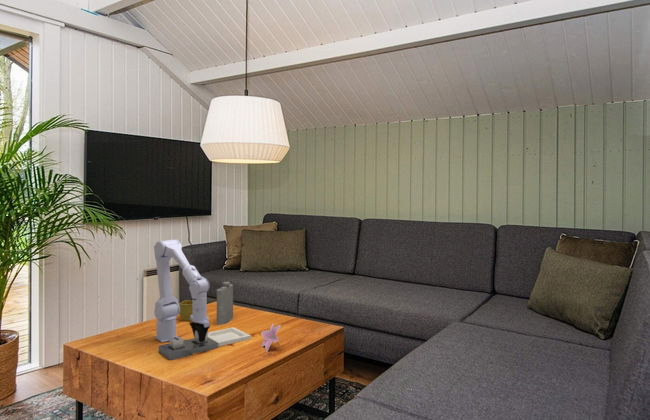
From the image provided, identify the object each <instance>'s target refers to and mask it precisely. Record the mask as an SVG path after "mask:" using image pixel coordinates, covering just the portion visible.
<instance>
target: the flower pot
mask: <svg viewBox="0 0 650 420" xmlns="http://www.w3.org/2000/svg"><path fill="white" fill-rule="evenodd" d="M178 304H179V306H180V313H179V316H180V318H181V320H182V321H186V322H187V321H188V322H193V321H192V320H190V315H193V304H192V300H186V299H185V300H183V301H182V302H180V303H179V302H178Z"/></svg>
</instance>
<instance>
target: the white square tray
mask: <svg viewBox="0 0 650 420" xmlns="http://www.w3.org/2000/svg"><path fill="white" fill-rule="evenodd" d="M208 338H209V339H211V340H213V341H214V342H216V343H217V348H218V347H223V346H226V345H230V344H236V343H240V342H244V341H248V340H251V339H252V336H251V335H250V333H248V332H247V333H246V332H244V331H242V330H240V329H238V328H236V327H228V328H224V329H219V330H214V331H210V332H208Z"/></svg>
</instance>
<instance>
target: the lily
mask: <svg viewBox="0 0 650 420" xmlns="http://www.w3.org/2000/svg"><path fill="white" fill-rule="evenodd" d="M281 326H282V325H281V324H279V325H277V326H275V324H274V323H272V324H271V325H270V328H269V330H263V331H261V332H260V333H261V334H260V335H261V337H262V339H263V342H261V345H260V346H261V347H264V346H265V347H264V348H265V351H266V353H268V351H269V349H270V346H271V345H272V343H277V345H278V346H280V344H279V341H280V340H279V337H278V336H277V333H278V332H279V330H280V329H281Z"/></svg>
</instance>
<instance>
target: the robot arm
mask: <svg viewBox="0 0 650 420" xmlns="http://www.w3.org/2000/svg"><path fill="white" fill-rule="evenodd" d="M153 249H154V252H153V253H154V258H155V264H156V273H157V283H158V284H157V285H158V289H159V290H158V291H159V298H158V300H157V301H156V302H154V317H155V319H156V325H155V326H156V331H155V332H156V335H154V336H153V337H154V338H155V339H157V340H158V341H159V342H161V343H165V342H166V343H167V342H170V338H174V337H179V336H178V335H177V318H178V315H179V316H180V314H179V313H180V306H179V300H178V298H176V297H175V296H174V295H173V288H172V279H171V269H170V267H171V266H170V260H171V259H172V258H173V259H174V260H175V262H176V263H177V264H178V265H179V266H180V268H181V269H182V272H181V273H182V276H183V277H184V278H185V280H186V282H187V283H188V285H189V286H188V288H189V292H190V296H191V298H192V300H191V301H192V304H193V315H190V320H192V321H189V326H190V327H191V330H192V334H193V338H195V330H197V331H198V337H199V342H204V341H205V338H206V334H207V331H209V329H210V327H211V325H210V324H211V323H210V321H209V319H210V317H209V316H207V313H208V312H207V310H208V309H207V306H208V305H207V303H208V302H207V301H208V300H207V299H208V297H207V293H208V291H209V290H210V287H211V286H210V281H209V280H208V279H207V278H206V277H204V276H202V275H201V274H200V273H199V270H198V269H197V267H196V266H195V265H192V264H190V262H189V260H188V259H187V258H186V256H185V254H184V251H182V250H183V245H182V244H181V242H180V240H179V239H178V238H177V239H176V238H173V239H167V240H158V241H156V242H155V244H154V246H153Z"/></svg>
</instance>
